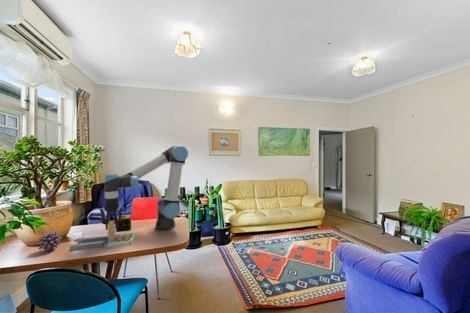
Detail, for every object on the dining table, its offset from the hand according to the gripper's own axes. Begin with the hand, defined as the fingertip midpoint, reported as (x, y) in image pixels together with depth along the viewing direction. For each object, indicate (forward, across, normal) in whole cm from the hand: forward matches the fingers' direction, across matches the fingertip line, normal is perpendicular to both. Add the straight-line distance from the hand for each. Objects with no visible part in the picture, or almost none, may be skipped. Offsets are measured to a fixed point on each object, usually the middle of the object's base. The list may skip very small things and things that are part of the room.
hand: (112, 233), depth 135 cm
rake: (+5, 0, 0) cm, 5 cm away
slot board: (+6, +10, 0) cm, 12 cm away
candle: (+6, -1, -28) cm, 29 cm away
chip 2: (+6, -8, 0) cm, 9 cm away
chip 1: (+6, -4, 0) cm, 7 cm away
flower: (+6, +33, 0) cm, 34 cm away
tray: (+6, -6, 0) cm, 9 cm away
